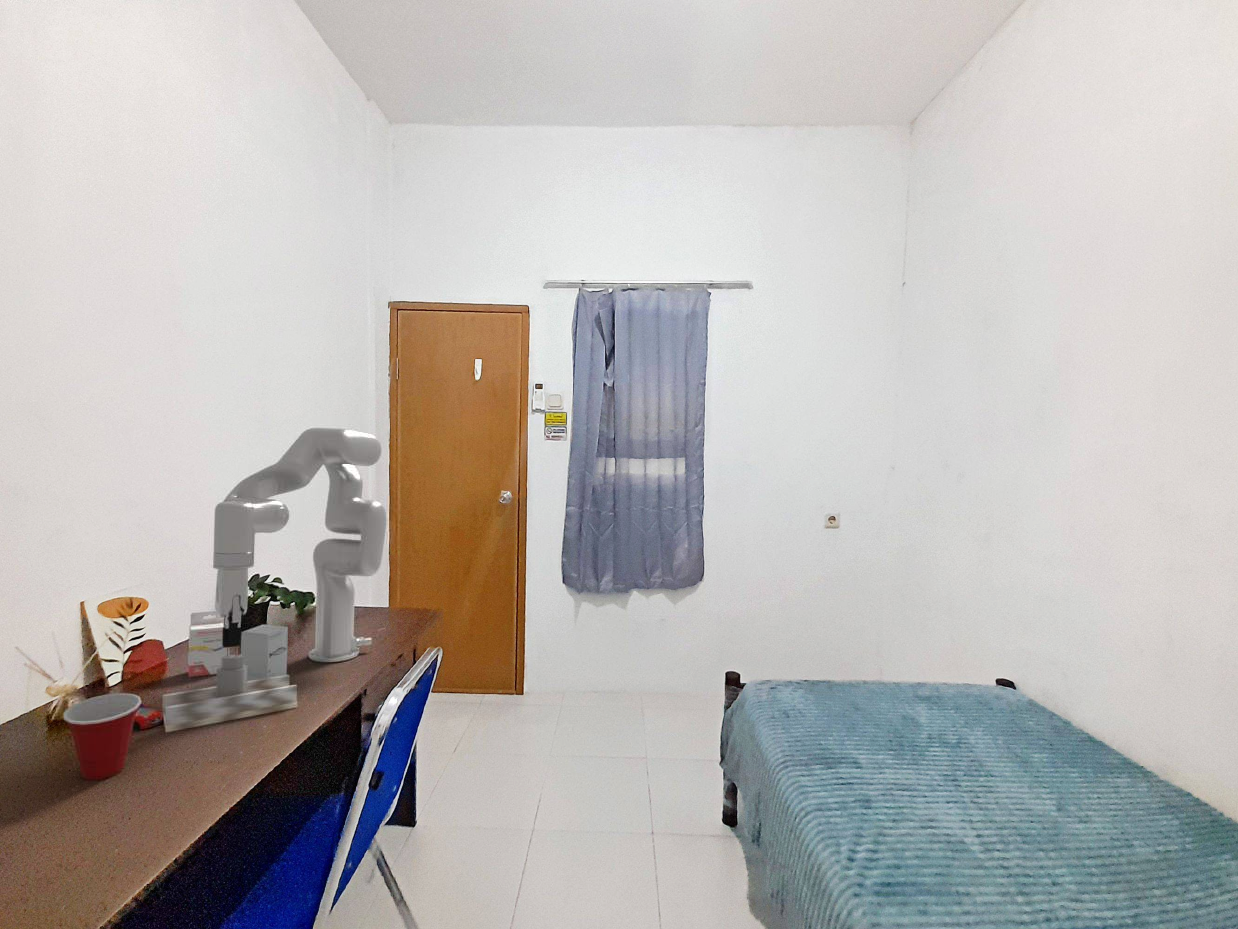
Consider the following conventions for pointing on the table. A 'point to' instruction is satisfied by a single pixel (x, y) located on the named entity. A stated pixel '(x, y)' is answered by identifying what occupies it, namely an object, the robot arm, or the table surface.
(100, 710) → the plastic cup
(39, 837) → the table surface
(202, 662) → the ink cartridge box
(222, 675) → the power adapter
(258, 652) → the supplement box
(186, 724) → the rail board
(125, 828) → the table surface
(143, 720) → the race car
